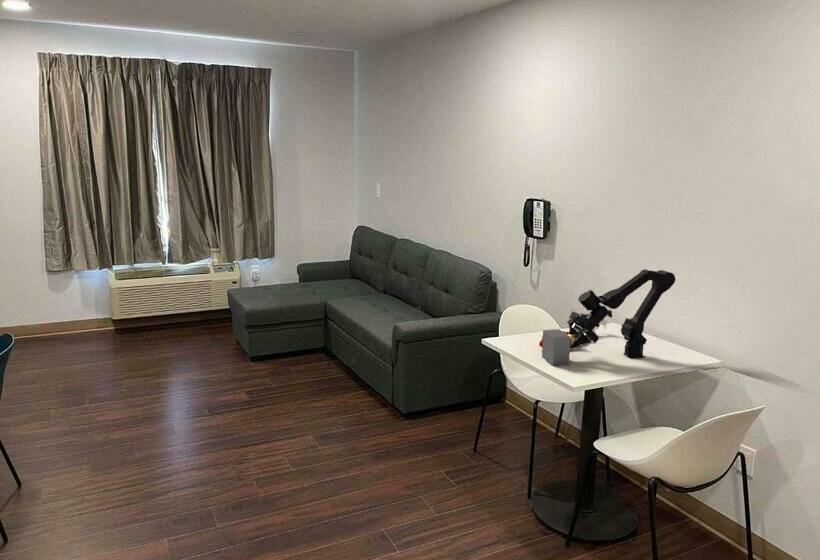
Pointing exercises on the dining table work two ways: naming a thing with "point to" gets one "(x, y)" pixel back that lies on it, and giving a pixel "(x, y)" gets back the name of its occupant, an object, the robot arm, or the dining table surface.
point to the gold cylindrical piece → (572, 339)
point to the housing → (556, 347)
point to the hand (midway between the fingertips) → (568, 345)
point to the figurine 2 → (603, 322)
